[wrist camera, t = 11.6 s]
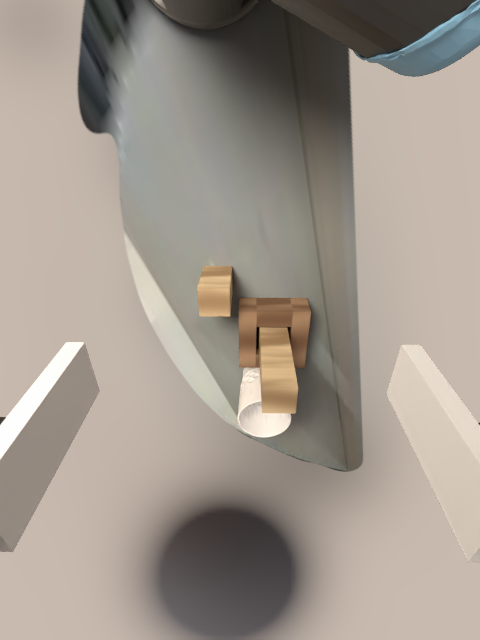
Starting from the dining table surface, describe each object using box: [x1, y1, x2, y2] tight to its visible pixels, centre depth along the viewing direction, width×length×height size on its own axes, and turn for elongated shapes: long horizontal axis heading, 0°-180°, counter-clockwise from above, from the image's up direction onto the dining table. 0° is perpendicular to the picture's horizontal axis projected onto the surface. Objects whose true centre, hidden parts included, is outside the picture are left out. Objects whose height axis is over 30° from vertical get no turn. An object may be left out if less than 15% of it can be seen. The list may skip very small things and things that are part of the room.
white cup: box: [238, 367, 291, 437], centre depth 53 cm, size 8×8×10 cm
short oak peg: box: [197, 266, 233, 316], centre depth 45 cm, size 4×4×7 cm
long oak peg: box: [259, 327, 298, 414], centre depth 45 cm, size 4×4×16 cm
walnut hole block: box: [239, 298, 311, 368], centre depth 50 cm, size 10×10×4 cm
